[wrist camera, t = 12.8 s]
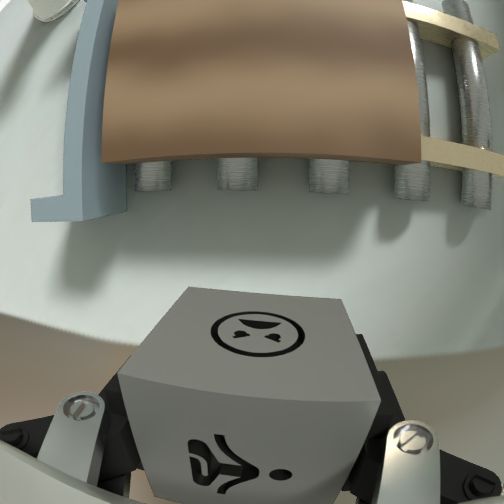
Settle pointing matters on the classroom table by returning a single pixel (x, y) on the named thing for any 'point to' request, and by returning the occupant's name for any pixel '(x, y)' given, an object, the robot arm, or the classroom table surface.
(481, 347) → the classroom table surface
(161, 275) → the classroom table surface
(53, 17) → the vase
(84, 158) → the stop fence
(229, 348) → the dice cube
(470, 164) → the roller bed
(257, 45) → the slab
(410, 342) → the classroom table surface
